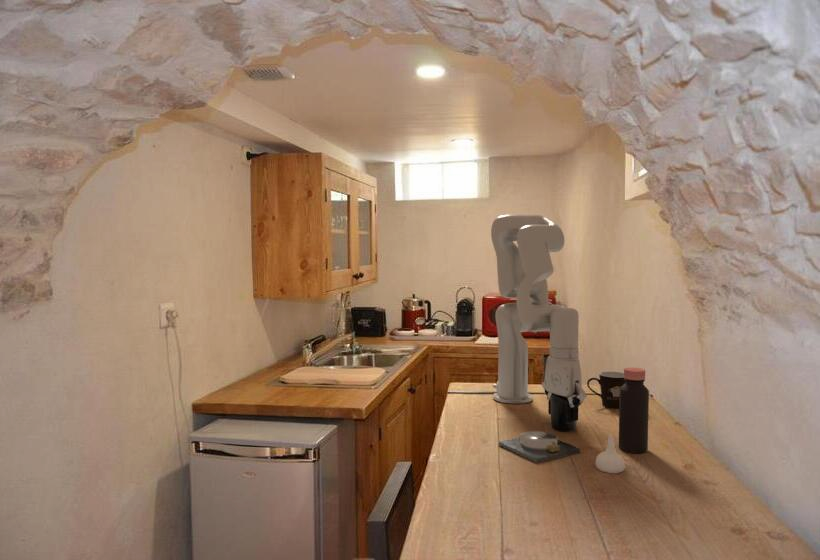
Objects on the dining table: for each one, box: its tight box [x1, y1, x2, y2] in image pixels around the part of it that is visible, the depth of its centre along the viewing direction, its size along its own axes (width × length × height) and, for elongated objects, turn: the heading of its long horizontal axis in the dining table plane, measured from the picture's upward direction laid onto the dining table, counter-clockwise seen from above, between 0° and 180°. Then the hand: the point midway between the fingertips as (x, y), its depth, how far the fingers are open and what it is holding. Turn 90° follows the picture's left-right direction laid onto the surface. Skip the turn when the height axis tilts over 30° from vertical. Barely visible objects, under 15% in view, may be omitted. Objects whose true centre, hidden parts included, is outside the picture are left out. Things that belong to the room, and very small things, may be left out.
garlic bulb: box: [595, 434, 626, 474], centre depth 135 cm, size 6×6×8 cm
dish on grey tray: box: [498, 430, 581, 464], centre depth 148 cm, size 14×14×3 cm
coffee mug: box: [586, 371, 625, 410], centre depth 187 cm, size 12×9×10 cm
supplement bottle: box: [550, 394, 577, 433], centre depth 164 cm, size 7×7×12 cm
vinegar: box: [618, 367, 650, 454], centre depth 147 cm, size 7×7×20 cm
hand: (563, 416), depth 164 cm, fingers closed on supplement bottle, 6 cm apart
